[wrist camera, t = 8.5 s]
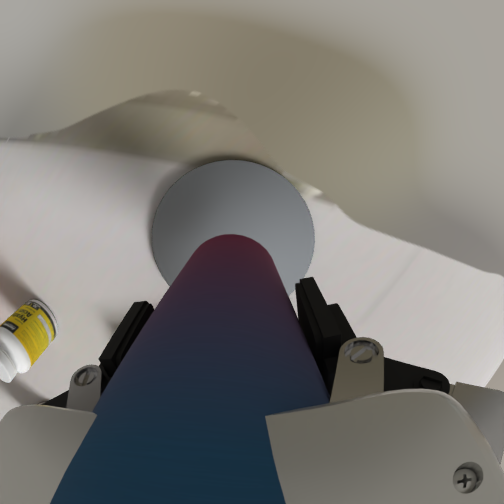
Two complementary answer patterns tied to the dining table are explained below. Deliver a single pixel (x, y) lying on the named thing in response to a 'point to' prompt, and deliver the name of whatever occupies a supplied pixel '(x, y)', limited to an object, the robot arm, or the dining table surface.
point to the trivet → (234, 217)
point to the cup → (200, 390)
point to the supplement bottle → (25, 338)
